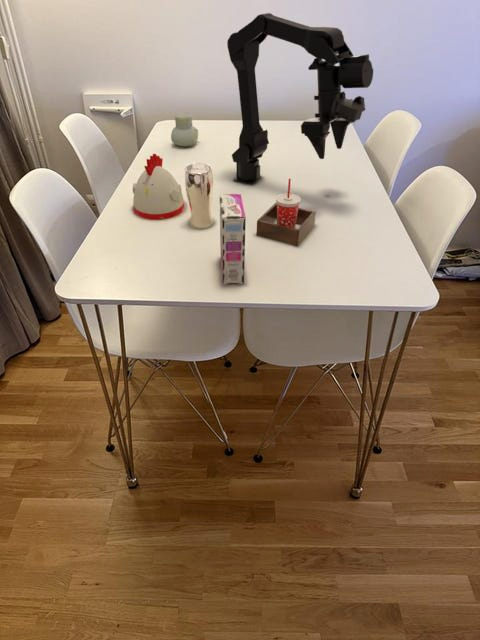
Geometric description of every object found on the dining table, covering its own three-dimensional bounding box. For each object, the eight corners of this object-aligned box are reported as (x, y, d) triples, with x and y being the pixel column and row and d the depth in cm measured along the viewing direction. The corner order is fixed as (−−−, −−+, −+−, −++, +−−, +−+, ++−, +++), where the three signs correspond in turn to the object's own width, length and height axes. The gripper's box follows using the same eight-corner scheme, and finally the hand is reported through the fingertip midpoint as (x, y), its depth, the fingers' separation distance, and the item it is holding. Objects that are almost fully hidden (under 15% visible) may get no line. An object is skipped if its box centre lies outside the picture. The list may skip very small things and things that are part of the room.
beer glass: (218, 219, 124) (216, 164, 114) (208, 231, 119) (206, 175, 109) (194, 215, 126) (191, 161, 116) (184, 227, 121) (179, 171, 111)
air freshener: (177, 138, 172) (175, 110, 166) (199, 139, 171) (198, 111, 165) (170, 148, 164) (167, 119, 157) (193, 150, 163) (191, 120, 156)
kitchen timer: (125, 214, 126) (115, 160, 116) (149, 194, 136) (142, 142, 126) (170, 223, 122) (164, 168, 113) (192, 201, 132) (188, 149, 122)
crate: (256, 235, 117) (256, 220, 115) (274, 216, 125) (275, 202, 122) (297, 246, 113) (299, 231, 111) (314, 226, 121) (316, 211, 118)
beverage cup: (290, 239, 116) (295, 186, 107) (269, 232, 119) (272, 180, 110) (301, 228, 120) (306, 177, 111) (280, 222, 123) (284, 171, 113)
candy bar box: (245, 284, 101) (246, 217, 91) (222, 285, 101) (221, 218, 90) (241, 257, 110) (241, 192, 99) (220, 258, 109) (218, 193, 99)
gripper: (340, 96, 103) (341, 166, 112) (376, 80, 114) (374, 145, 123) (297, 97, 109) (301, 163, 118) (336, 81, 120) (337, 143, 129)
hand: (330, 153), depth 122 cm, fingers open, 9 cm apart
